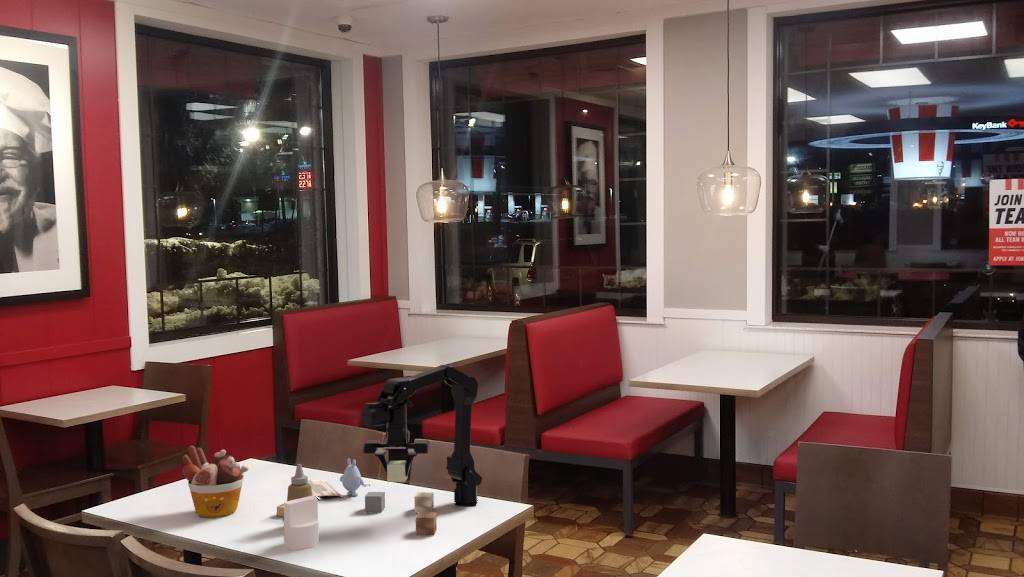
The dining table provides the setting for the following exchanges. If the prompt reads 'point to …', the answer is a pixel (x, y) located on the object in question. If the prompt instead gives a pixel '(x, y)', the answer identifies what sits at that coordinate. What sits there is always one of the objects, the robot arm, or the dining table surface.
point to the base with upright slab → (301, 523)
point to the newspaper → (322, 488)
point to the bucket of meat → (213, 482)
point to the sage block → (396, 471)
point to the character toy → (280, 510)
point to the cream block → (424, 501)
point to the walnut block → (426, 523)
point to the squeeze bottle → (299, 485)
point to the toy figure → (351, 478)
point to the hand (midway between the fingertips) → (397, 476)
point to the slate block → (374, 502)
